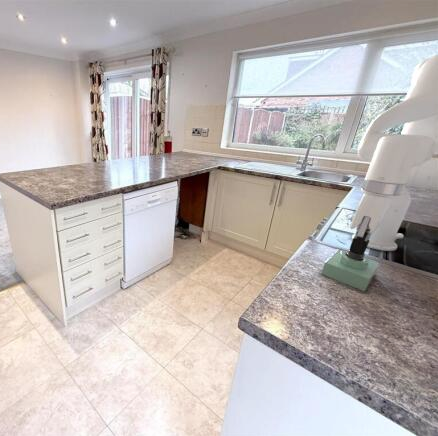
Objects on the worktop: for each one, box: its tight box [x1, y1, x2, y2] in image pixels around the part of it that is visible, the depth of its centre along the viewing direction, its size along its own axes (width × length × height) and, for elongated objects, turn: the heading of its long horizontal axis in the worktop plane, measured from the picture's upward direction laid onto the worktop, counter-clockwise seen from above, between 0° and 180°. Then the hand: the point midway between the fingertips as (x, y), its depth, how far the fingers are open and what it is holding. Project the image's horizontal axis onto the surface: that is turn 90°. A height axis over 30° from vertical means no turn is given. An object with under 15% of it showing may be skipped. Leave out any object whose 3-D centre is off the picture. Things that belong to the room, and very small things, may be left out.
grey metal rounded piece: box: [346, 249, 366, 261], centre depth 69 cm, size 4×4×2 cm
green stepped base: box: [320, 249, 380, 292], centre depth 70 cm, size 12×10×6 cm
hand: (356, 251), depth 68 cm, fingers closed
